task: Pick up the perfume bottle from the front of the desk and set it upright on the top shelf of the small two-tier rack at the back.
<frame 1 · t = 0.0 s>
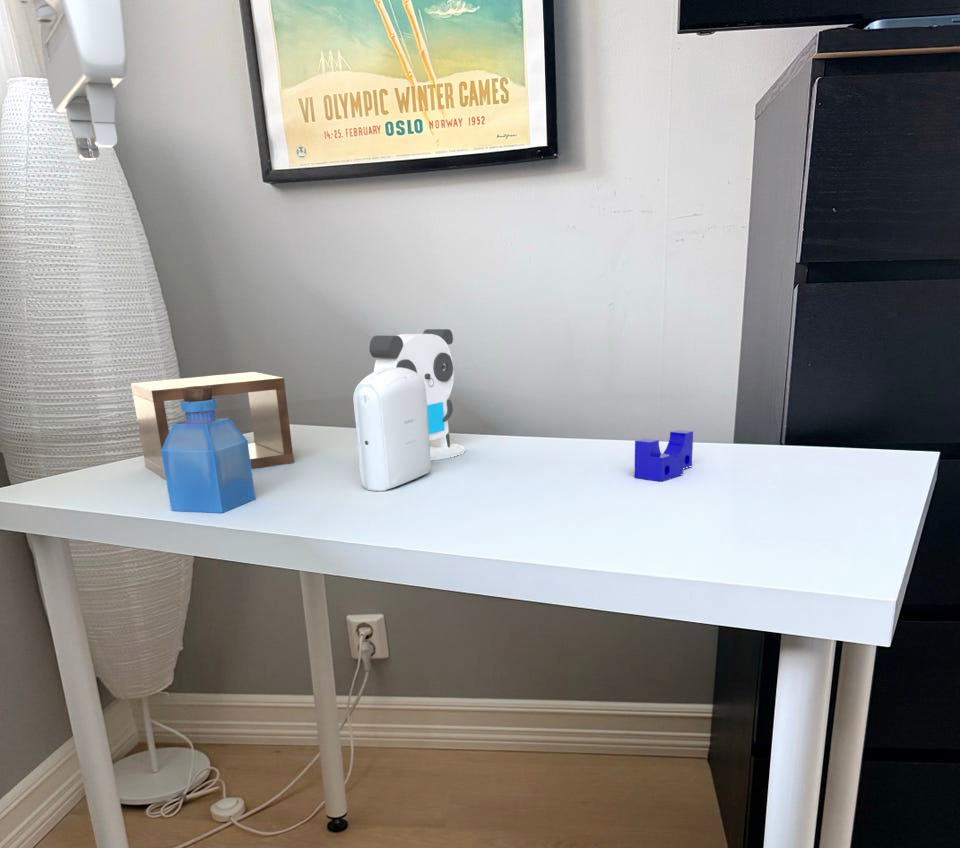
hand: (97, 153, 88), 34 cm above the table, tool pointing down, fingers open, 8 cm apart
photo printer: (397, 483, 104), on the table
perfume bottle: (214, 506, 98), on the table
shelf rack: (219, 464, 119), on the table
panda figurine: (420, 455, 120), on the table
cable holder: (669, 475, 102), on the table
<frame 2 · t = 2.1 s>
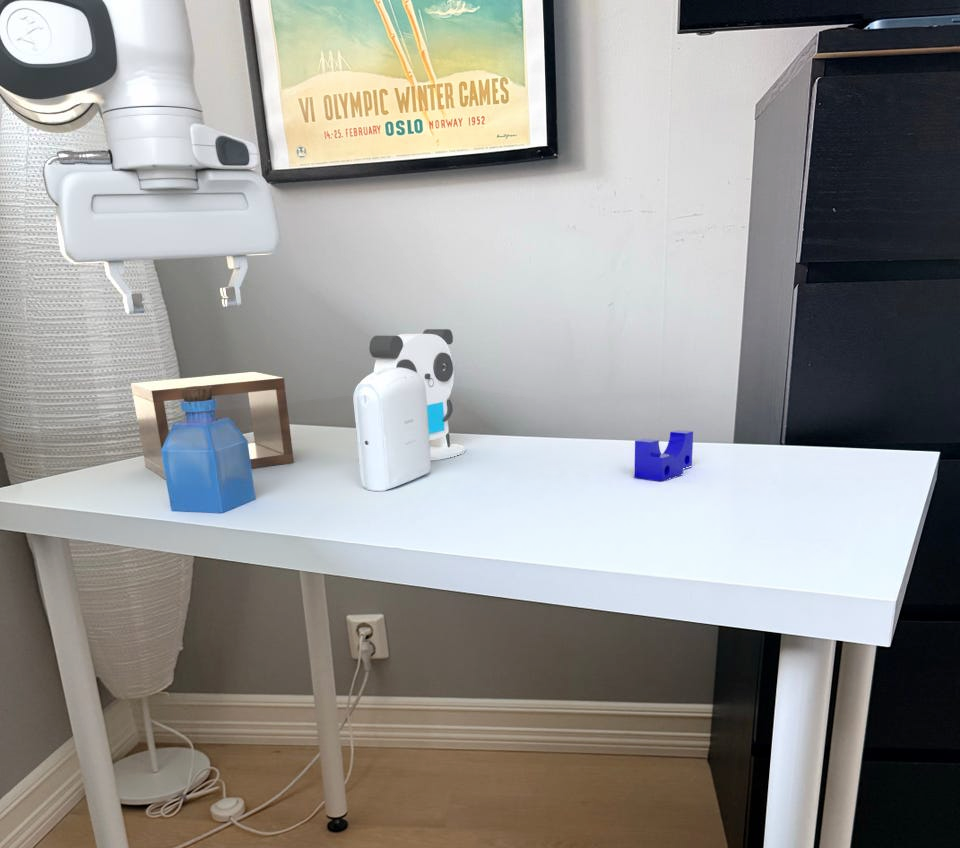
hand: (185, 309, 91), 19 cm above the table, tool pointing down, fingers open, 8 cm apart
nothing on the table moved.
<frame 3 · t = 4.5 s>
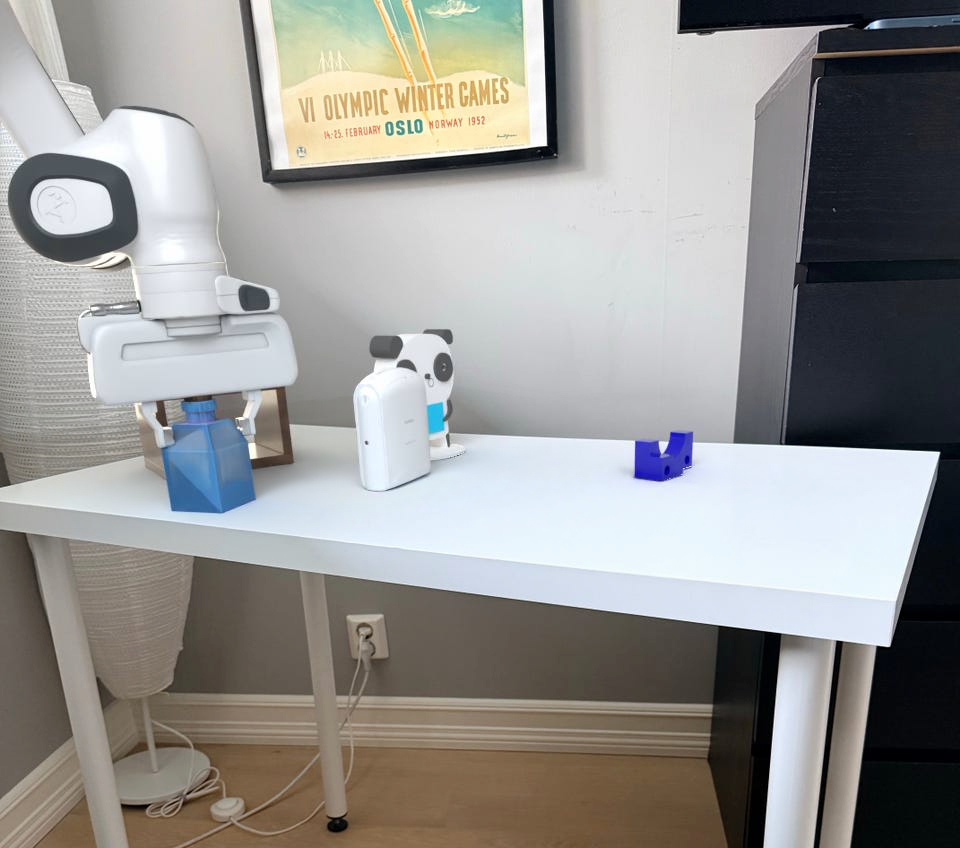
hand: (207, 440, 95), 7 cm above the table, tool pointing down, fingers closed on perfume bottle, 7 cm apart
perfume bottle: (214, 506, 98), on the table, touching gripper
everything else where it was.
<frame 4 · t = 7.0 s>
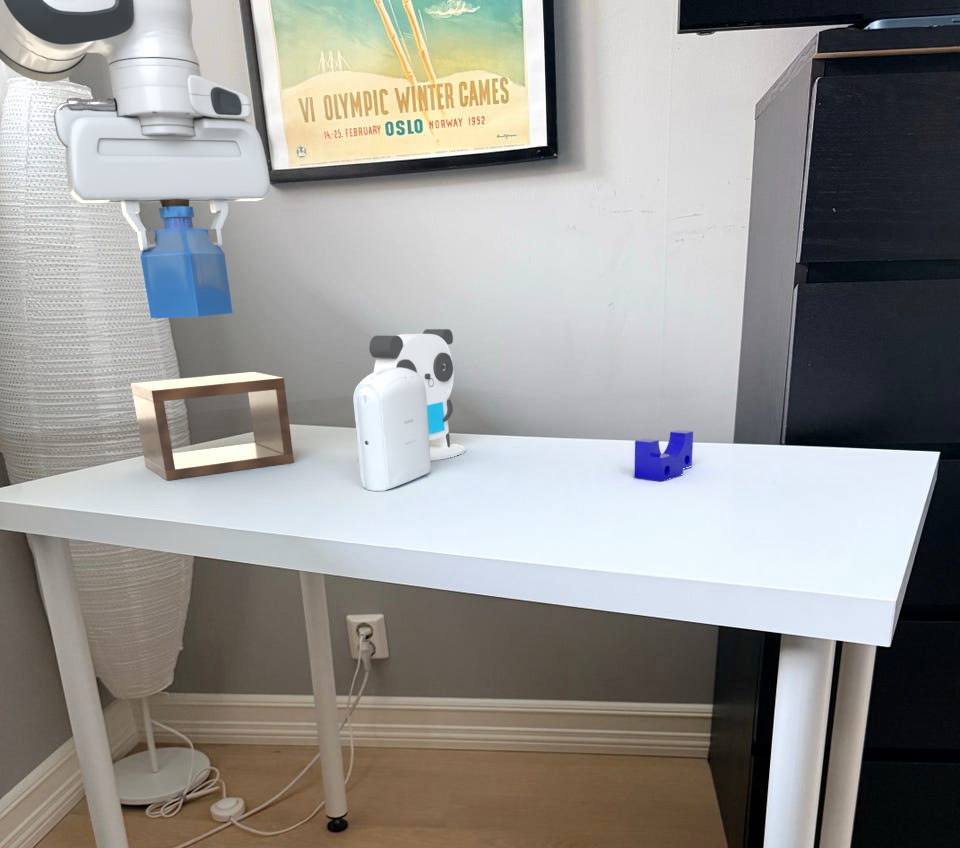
hand: (182, 248, 99), 25 cm above the table, tool pointing down, fingers closed on perfume bottle, 5 cm apart
perfume bottle: (192, 317, 102), point 18 cm above the table, touching gripper
everything else where it was.
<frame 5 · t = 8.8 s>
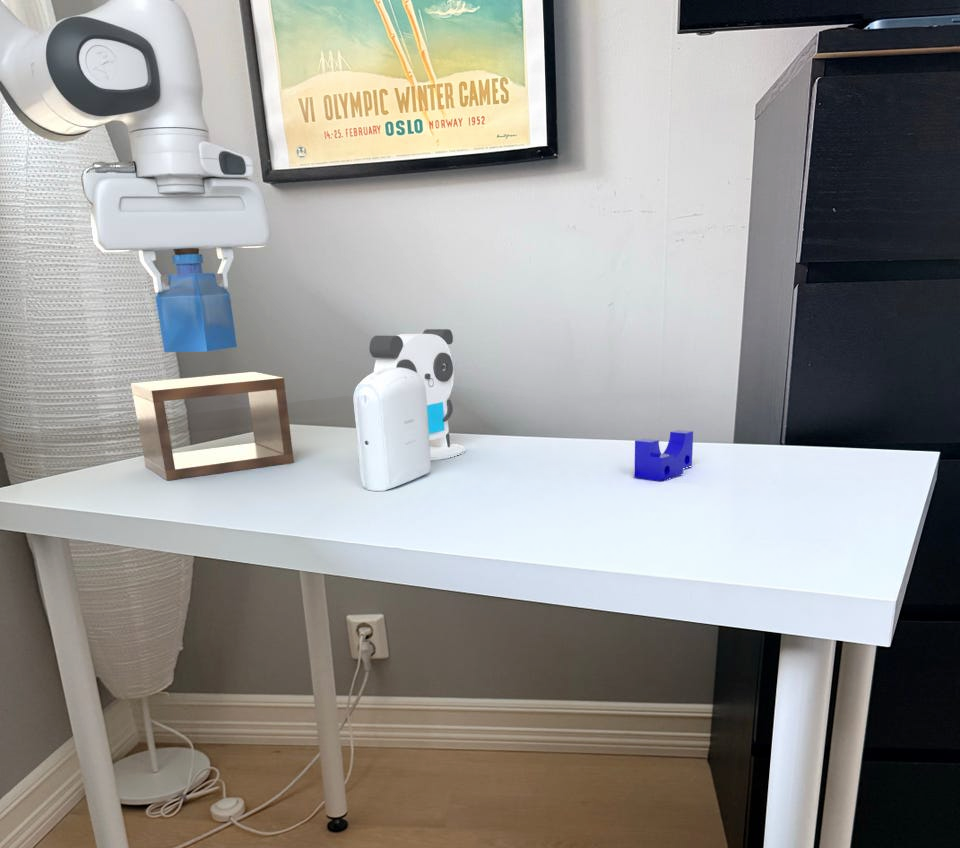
hand: (192, 290, 112), 21 cm above the table, tool pointing down, fingers closed on perfume bottle, 5 cm apart
perfume bottle: (201, 351, 114), point 14 cm above the table, touching gripper
everything else where it was.
when the fingers open (17 cm above the table, at t = 10.3 s): perfume bottle stays where it is, resting on shelf rack.
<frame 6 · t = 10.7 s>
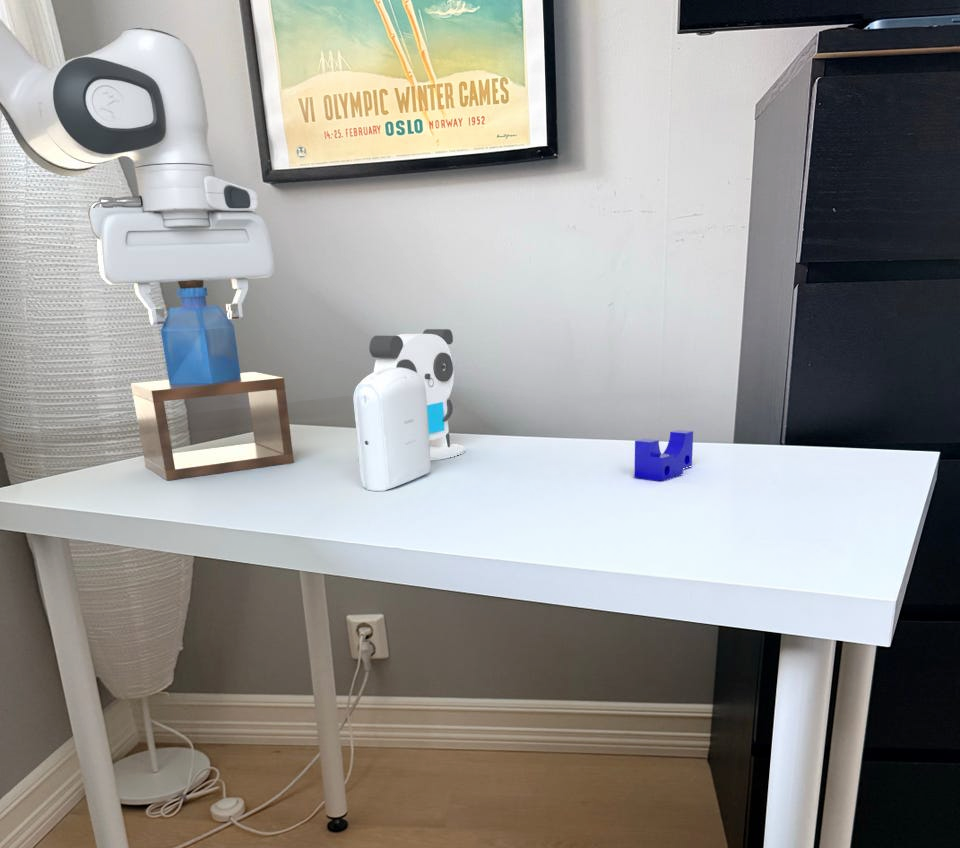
hand: (197, 321, 113), 17 cm above the table, tool pointing down, fingers open, 8 cm apart
perfume bottle: (205, 382, 116), point 10 cm above the table, touching shelf rack
everything else where it was.
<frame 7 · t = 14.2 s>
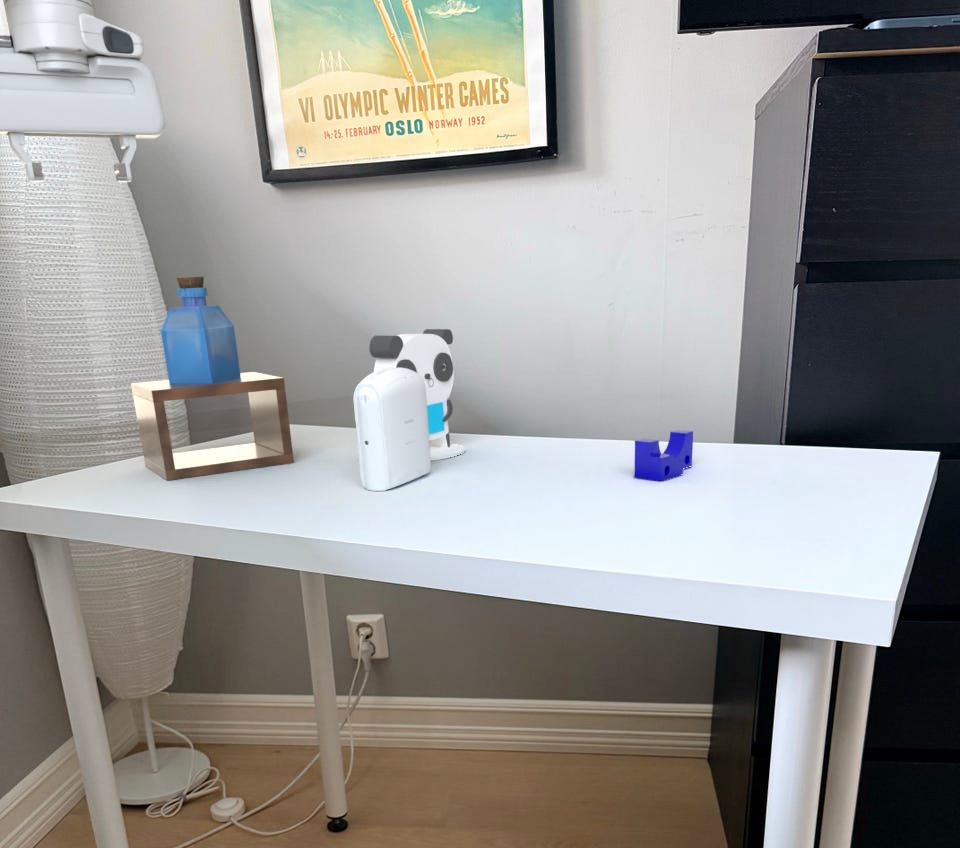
hand: (81, 181, 105), 33 cm above the table, tool pointing down, fingers open, 8 cm apart
nothing on the table moved.
at the end: perfume bottle inside the target area on the shelf rack (0.1 cm from its centre), point 10.3 cm above the shelf rack's base; perfume bottle tilted 0°; the gripper is holding nothing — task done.
